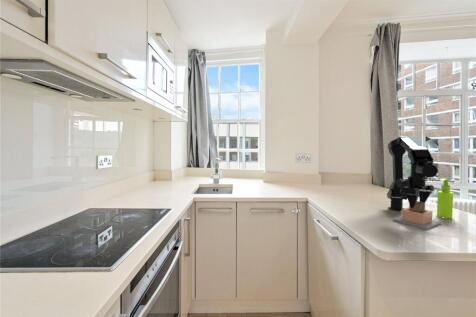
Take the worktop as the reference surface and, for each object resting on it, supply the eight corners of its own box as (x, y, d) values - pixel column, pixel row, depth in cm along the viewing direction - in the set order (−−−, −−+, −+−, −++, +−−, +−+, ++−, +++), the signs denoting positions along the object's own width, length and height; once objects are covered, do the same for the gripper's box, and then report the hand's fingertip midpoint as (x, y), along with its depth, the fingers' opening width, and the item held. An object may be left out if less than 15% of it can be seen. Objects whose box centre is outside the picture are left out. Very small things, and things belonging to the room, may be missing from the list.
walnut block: (413, 218, 112) (414, 200, 112) (424, 220, 108) (425, 202, 108) (408, 219, 110) (409, 201, 110) (419, 222, 106) (420, 203, 106)
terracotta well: (407, 216, 119) (408, 204, 119) (441, 224, 107) (441, 211, 106) (392, 220, 112) (393, 208, 112) (426, 229, 100) (427, 216, 100)
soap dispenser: (433, 216, 118) (434, 178, 117) (440, 214, 121) (442, 177, 119) (447, 219, 113) (448, 180, 111) (454, 217, 115) (456, 179, 114)
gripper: (409, 171, 119) (408, 200, 120) (389, 174, 111) (388, 205, 112) (435, 173, 110) (434, 205, 111) (415, 176, 101) (414, 211, 102)
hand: (417, 206), depth 109 cm, fingers open, 9 cm apart
